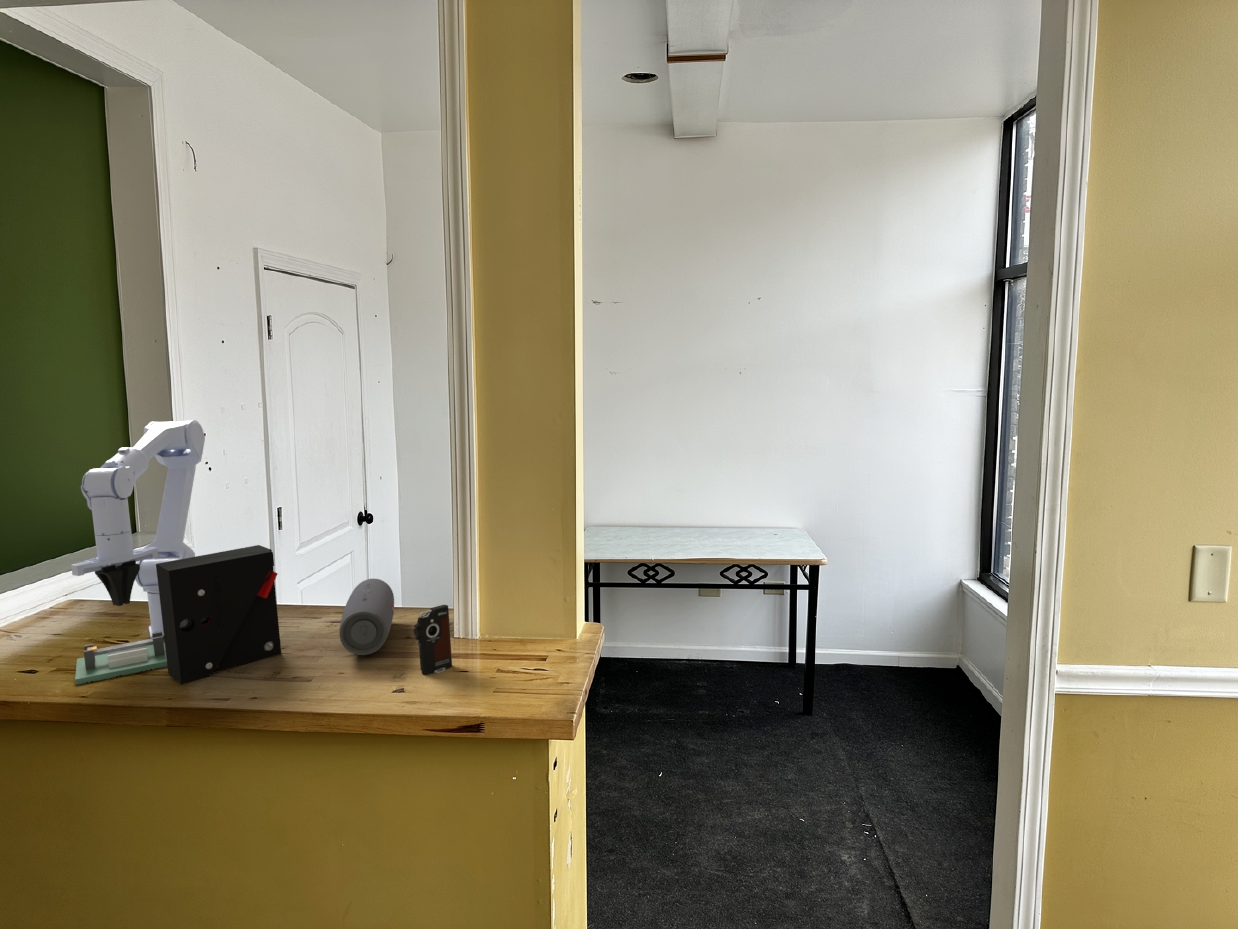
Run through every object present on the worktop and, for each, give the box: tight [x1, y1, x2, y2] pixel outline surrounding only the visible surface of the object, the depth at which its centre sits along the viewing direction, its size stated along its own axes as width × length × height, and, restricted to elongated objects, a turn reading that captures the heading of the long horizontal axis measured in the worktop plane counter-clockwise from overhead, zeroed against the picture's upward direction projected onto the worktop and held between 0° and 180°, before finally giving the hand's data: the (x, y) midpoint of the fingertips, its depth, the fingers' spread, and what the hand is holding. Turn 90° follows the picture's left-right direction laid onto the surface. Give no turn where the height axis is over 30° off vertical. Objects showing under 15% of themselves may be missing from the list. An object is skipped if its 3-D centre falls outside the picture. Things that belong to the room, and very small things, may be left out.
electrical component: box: [156, 544, 282, 685], centre depth 146 cm, size 18×10×20 cm, turn 135°
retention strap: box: [87, 638, 153, 656], centre depth 148 cm, size 12×2×1 cm, turn 122°
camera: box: [413, 604, 453, 676], centre depth 140 cm, size 6×3×11 cm, turn 127°
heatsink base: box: [74, 631, 168, 686], centre depth 148 cm, size 16×12×4 cm
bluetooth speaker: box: [338, 578, 395, 656], centre depth 156 cm, size 23×9×10 cm, turn 13°
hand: (121, 604), depth 150 cm, fingers closed
